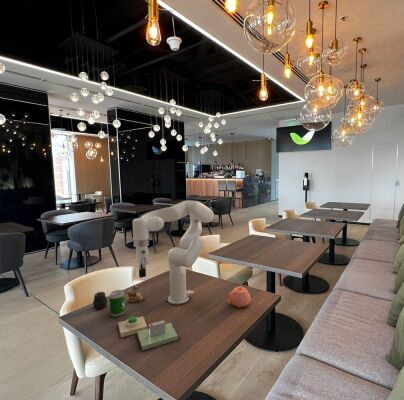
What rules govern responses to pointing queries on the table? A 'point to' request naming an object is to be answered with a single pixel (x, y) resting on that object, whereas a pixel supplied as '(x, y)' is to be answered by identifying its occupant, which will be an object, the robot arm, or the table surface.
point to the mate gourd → (99, 300)
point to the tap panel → (157, 337)
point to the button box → (132, 326)
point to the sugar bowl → (239, 297)
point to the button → (132, 319)
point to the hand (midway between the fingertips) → (142, 276)
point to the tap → (156, 328)
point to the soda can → (117, 303)
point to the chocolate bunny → (134, 294)
